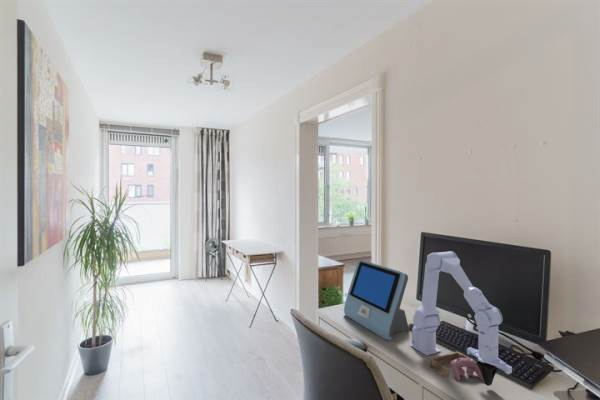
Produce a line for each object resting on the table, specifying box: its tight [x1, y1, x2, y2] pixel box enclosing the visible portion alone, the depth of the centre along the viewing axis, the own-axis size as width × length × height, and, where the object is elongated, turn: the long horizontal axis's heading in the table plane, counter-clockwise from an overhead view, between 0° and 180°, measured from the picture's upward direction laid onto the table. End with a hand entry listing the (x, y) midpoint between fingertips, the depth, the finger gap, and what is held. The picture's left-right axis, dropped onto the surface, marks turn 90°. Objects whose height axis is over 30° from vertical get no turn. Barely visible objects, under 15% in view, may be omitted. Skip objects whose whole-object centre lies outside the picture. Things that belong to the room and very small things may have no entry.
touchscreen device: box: [343, 259, 410, 342], centre depth 160 cm, size 35×20×30 cm, turn 26°
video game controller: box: [450, 357, 483, 381], centre depth 114 cm, size 10×5×7 cm, turn 92°
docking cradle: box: [429, 351, 472, 378], centre depth 119 cm, size 7×15×3 cm, turn 115°
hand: (488, 384), depth 107 cm, fingers closed
